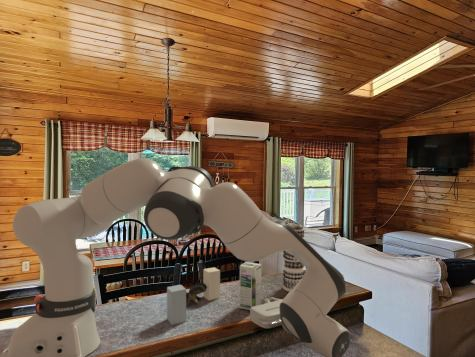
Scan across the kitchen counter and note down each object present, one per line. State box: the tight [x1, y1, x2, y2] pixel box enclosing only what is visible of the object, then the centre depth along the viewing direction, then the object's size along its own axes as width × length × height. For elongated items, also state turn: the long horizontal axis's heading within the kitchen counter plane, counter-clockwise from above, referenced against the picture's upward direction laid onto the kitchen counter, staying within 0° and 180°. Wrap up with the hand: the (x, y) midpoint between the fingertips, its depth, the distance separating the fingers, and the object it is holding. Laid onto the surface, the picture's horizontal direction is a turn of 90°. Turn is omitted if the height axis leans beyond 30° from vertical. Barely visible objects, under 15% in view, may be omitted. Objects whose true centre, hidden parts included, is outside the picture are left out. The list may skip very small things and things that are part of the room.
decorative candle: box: [282, 223, 307, 293], centre depth 125 cm, size 9×9×25 cm
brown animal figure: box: [186, 282, 207, 308], centre depth 112 cm, size 8×7×9 cm
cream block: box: [202, 266, 221, 301], centre depth 117 cm, size 4×4×10 cm
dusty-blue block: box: [166, 284, 187, 326], centre depth 99 cm, size 4×4×10 cm
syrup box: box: [239, 261, 262, 311], centre depth 108 cm, size 6×6×14 cm
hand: (268, 300), depth 100 cm, fingers closed
